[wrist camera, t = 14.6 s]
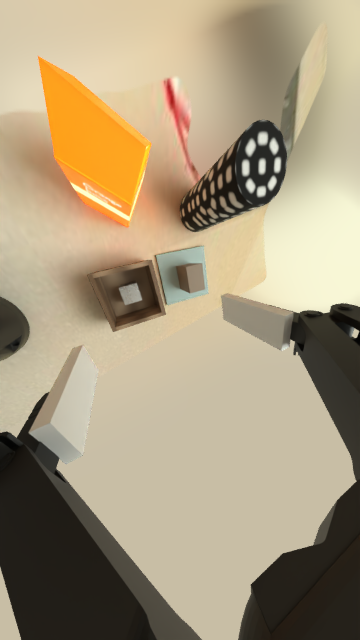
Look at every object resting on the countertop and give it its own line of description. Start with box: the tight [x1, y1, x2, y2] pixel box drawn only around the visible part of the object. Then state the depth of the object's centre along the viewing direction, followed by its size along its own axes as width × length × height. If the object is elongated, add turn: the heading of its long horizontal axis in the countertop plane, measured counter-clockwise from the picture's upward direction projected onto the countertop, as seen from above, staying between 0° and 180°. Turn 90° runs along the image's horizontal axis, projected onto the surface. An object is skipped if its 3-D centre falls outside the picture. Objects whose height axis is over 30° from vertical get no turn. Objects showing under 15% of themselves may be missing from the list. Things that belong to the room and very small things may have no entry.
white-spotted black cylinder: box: [180, 120, 287, 232], centre depth 28 cm, size 8×8×20 cm
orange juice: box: [38, 57, 151, 227], centre depth 22 cm, size 8×9×20 cm
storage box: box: [87, 260, 166, 332], centre depth 34 cm, size 12×12×8 cm
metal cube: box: [119, 281, 142, 305], centre depth 35 cm, size 4×4×4 cm
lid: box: [156, 246, 208, 305], centre depth 38 cm, size 13×13×8 cm
